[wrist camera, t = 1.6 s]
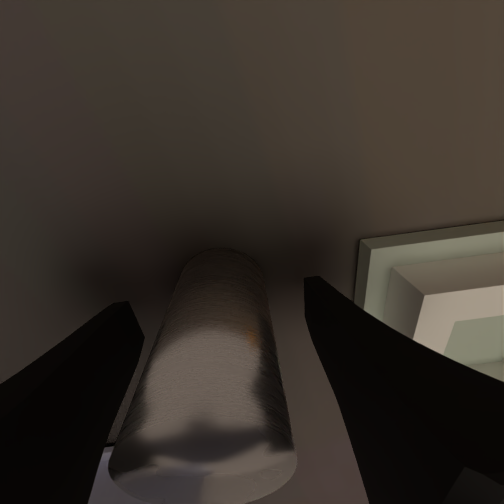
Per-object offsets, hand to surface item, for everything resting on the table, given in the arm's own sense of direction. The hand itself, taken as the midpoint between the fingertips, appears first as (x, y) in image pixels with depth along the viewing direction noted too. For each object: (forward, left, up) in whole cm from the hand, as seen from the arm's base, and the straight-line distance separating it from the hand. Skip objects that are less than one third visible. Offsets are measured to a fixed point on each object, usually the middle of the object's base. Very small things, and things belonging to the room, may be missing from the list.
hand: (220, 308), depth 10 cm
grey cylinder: (0, 0, -2) cm, 2 cm away
